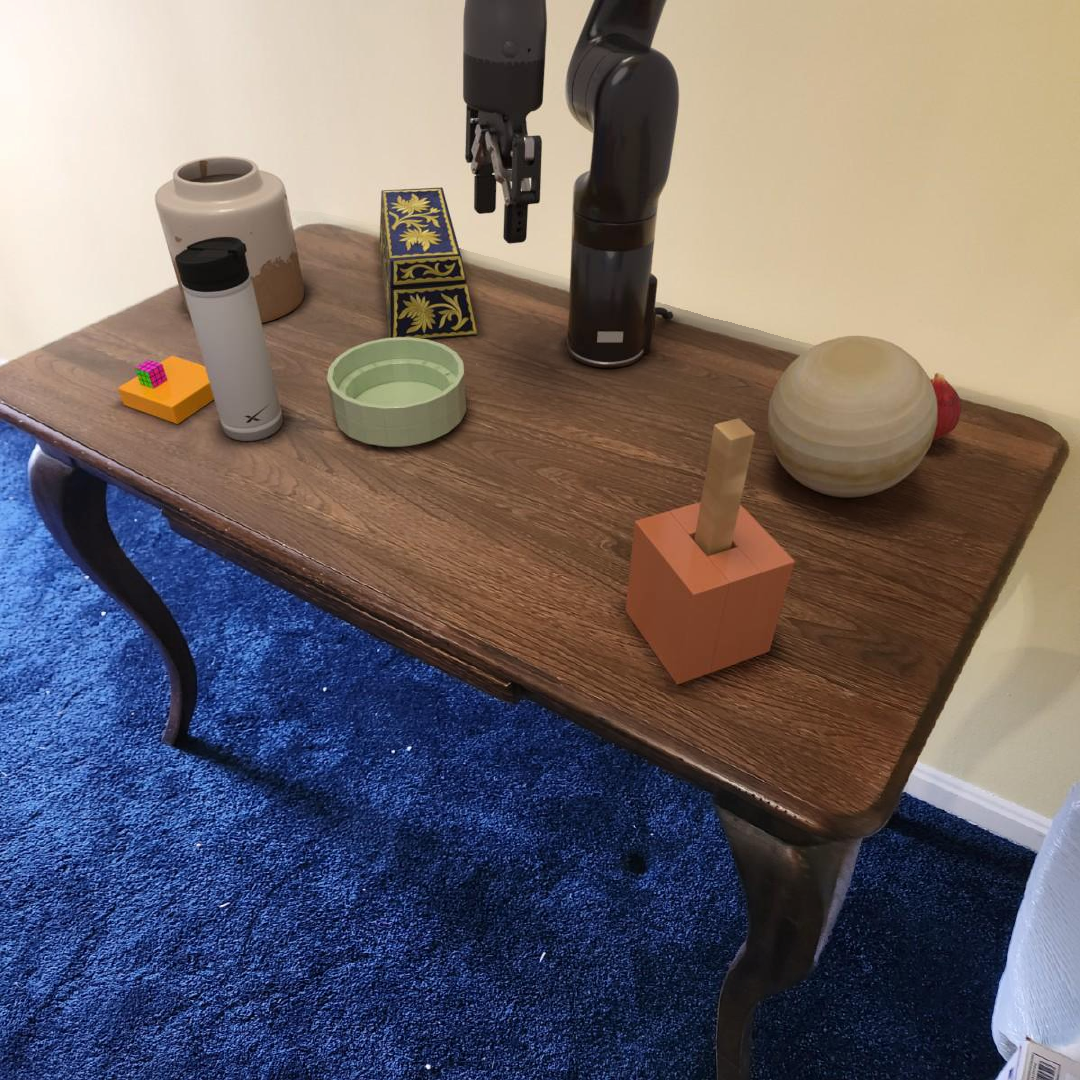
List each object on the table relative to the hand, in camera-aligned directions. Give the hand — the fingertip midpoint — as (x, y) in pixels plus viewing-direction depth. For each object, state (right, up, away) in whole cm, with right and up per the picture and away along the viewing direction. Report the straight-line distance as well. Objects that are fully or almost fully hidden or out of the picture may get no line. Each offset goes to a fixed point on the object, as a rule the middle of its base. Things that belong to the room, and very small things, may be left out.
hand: (499, 226), depth 89 cm
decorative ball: (+33, -27, -3) cm, 43 cm away
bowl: (-11, -19, +5) cm, 22 cm away
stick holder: (+17, -40, -18) cm, 47 cm away
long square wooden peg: (+17, -40, -18) cm, 47 cm away
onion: (+44, -22, +3) cm, 50 cm away
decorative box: (-12, +2, +29) cm, 31 cm away
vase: (-35, -1, +25) cm, 43 cm away
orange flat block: (-36, -17, +7) cm, 41 cm away
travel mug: (-26, -20, +3) cm, 33 cm away
